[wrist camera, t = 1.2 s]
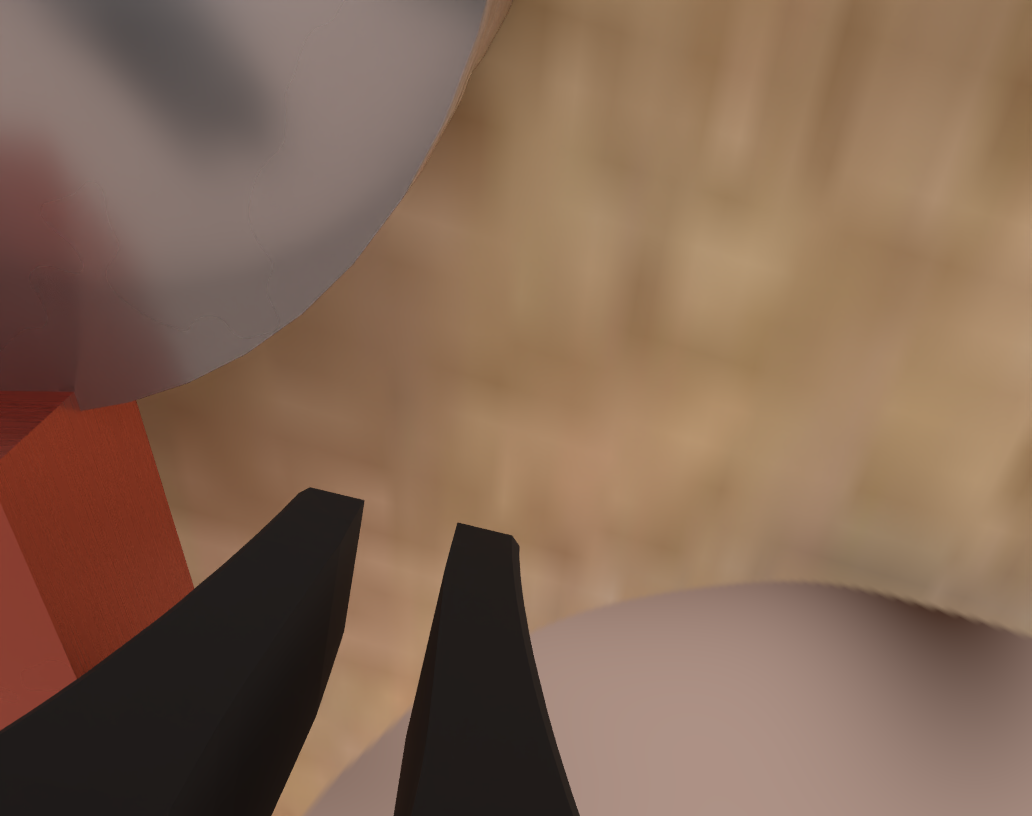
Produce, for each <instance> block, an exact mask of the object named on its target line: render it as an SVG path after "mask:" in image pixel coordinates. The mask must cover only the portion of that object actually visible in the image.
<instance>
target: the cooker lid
mask: <svg viewBox="0 0 1032 816" xmlns="http://www.w3.org/2000/svg"><path fill="white" fill-rule="evenodd" d="M496 3H497V0H0V730H2V729H3V728H5V727H6V726H8V725H10V724H11V723H13V722H14V721H16V720H17V719H19V718H20V717H22V716H24V715H25V714H27V713H28V712H30V711H31V710H33V709H34V708H36V707H37V706H39V705H40V704H42V703H43V702H45V701H46V700H47V699H49V698H50V697H52V696H53V695H55V694H56V693H58V692H59V691H61V690H62V689H63V688H65V687H66V686H68V685H69V684H71V683H72V682H74V681H75V680H76V679H78V678H79V677H81V676H82V675H83V674H85V673H86V672H88V671H89V670H90V669H92V668H93V667H95V666H96V665H97V664H99V663H100V662H101V661H102V660H104V659H105V658H106V657H108V656H109V655H110V654H112V653H113V652H114V651H116V650H117V649H118V648H120V647H121V646H122V645H124V644H125V643H126V642H128V641H129V640H130V639H132V638H133V637H134V636H136V635H137V634H138V633H140V632H141V631H142V630H144V629H145V628H146V627H148V626H149V625H150V624H152V623H153V622H154V621H156V620H157V619H158V618H159V617H161V616H162V615H163V614H164V613H166V612H167V611H168V610H169V609H171V608H172V607H173V606H174V605H176V604H177V603H178V602H179V601H180V600H182V599H183V598H184V597H185V596H186V595H188V594H189V593H190V592H191V591H192V590H193V589H194V586H193V583H192V579H191V576H190V573H189V570H188V567H187V563H186V560H185V557H184V554H183V550H182V547H181V544H180V541H179V538H178V534H177V531H176V528H175V525H174V522H173V518H172V515H171V512H170V509H169V505H168V502H167V499H166V496H165V493H164V489H163V486H162V483H161V480H160V476H159V473H158V470H157V467H156V464H155V460H154V457H153V454H152V451H151V447H150V444H149V441H148V438H147V435H146V431H145V428H144V425H143V422H142V418H141V415H140V412H139V409H138V406H137V402H136V400H137V399H141V398H144V397H147V396H150V395H153V394H156V393H159V392H162V391H165V390H168V389H171V388H174V387H177V386H180V385H183V384H186V383H189V382H191V381H193V380H195V379H197V378H199V377H201V376H203V375H205V374H207V373H209V372H211V371H213V370H215V369H217V368H219V367H221V366H223V365H225V364H227V363H229V362H231V361H233V360H235V359H237V358H239V357H241V356H243V355H245V354H247V353H248V352H250V351H251V350H252V349H254V348H255V347H257V346H258V345H259V344H261V343H262V342H264V341H265V340H266V339H268V338H269V337H271V336H272V335H273V334H275V333H276V332H278V331H279V330H280V329H282V328H283V327H285V326H286V325H287V324H289V323H290V322H292V321H293V320H294V319H296V318H297V317H299V316H300V315H301V314H303V313H304V312H305V311H306V310H307V309H308V308H309V307H310V306H311V305H312V304H313V303H314V302H315V301H316V300H317V299H318V298H319V297H320V296H321V295H322V294H323V293H324V292H325V291H326V290H327V289H328V288H329V287H330V286H331V285H332V284H333V283H334V282H335V281H336V280H337V279H338V278H339V277H340V276H341V275H342V274H343V273H344V272H345V271H346V270H347V269H349V268H350V267H351V266H352V265H353V264H354V262H355V261H356V260H357V258H358V257H359V256H360V254H361V253H362V252H363V250H364V249H365V248H366V246H367V245H368V244H369V242H370V241H371V240H372V238H373V237H374V236H375V234H376V233H377V232H378V230H379V229H380V228H381V226H382V225H383V224H384V222H385V221H386V220H387V218H388V217H389V216H390V214H391V213H392V212H393V210H394V209H395V208H396V206H397V205H398V204H399V202H400V201H401V200H402V198H403V197H404V195H405V194H406V193H407V191H408V190H409V188H410V187H411V186H412V184H413V183H414V181H415V180H416V179H417V177H418V176H419V174H420V173H421V172H422V170H423V168H424V167H425V165H426V163H427V161H428V159H429V157H430V156H431V154H432V152H433V150H434V148H435V147H436V145H437V143H438V141H439V139H440V137H441V136H442V134H443V132H444V130H445V128H446V127H447V125H448V123H449V121H450V119H451V117H452V116H453V114H454V112H455V110H456V108H457V107H458V105H459V103H460V101H461V99H462V96H463V94H464V91H465V88H466V86H467V83H468V81H469V78H470V76H471V73H472V70H473V68H474V65H475V63H476V60H477V57H478V55H479V52H480V50H481V47H482V45H483V42H484V39H485V37H486V34H487V32H488V29H489V27H490V24H491V21H492V19H493V15H494V11H495V7H496Z"/></svg>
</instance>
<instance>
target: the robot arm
mask: <svg viewBox="0 0 1032 816" xmlns="http://www.w3.org/2000/svg"><path fill="white" fill-rule="evenodd" d="M364 501H365V500H361V499H357V498H353V497H348V496H344V495H340V494H336V493H332V492H328V491H323V490H319V489H315V488H311V487H310V488H308V489H306V490H304V491H302V492H300V493H299V494H298V495H297V496H296V497H295V498H294V499H293V500H292V501H291V502H290V503H289V504H288V505H287V506H286V507H285V508H284V509H283V510H282V511H281V512H280V513H279V514H278V515H277V516H276V517H275V518H273V519H272V520H271V521H270V522H269V523H268V524H267V525H266V526H265V527H264V528H263V529H262V530H261V531H260V532H259V533H258V534H257V535H255V536H254V537H253V538H252V539H251V540H250V541H249V542H248V543H247V544H246V545H245V546H243V547H242V548H241V549H240V550H239V551H238V552H237V553H236V554H234V555H233V556H232V557H231V558H230V559H229V560H228V561H227V562H226V563H224V564H223V565H222V566H221V567H220V568H219V569H217V570H216V571H215V572H214V573H213V574H211V575H210V576H209V577H208V578H207V579H205V580H204V581H203V582H202V583H201V584H199V585H198V586H197V587H196V588H195V589H193V590H192V591H191V592H190V593H189V594H188V595H186V596H185V597H184V598H183V599H182V600H180V601H179V602H178V603H177V604H176V605H174V606H173V607H172V608H171V609H169V610H168V611H167V612H166V613H164V614H163V615H162V616H161V617H159V618H158V619H157V620H156V621H154V622H153V623H152V624H150V625H149V626H148V627H146V628H145V629H144V630H142V631H141V632H140V633H138V634H137V635H136V636H134V637H133V638H132V639H130V640H129V641H128V642H126V643H125V644H124V645H122V646H121V647H120V648H118V649H117V650H116V651H114V652H113V653H112V654H110V655H109V656H108V657H106V658H105V659H104V660H102V661H101V662H100V663H99V664H97V665H96V666H95V667H93V668H92V669H90V670H89V671H88V672H86V673H85V674H83V675H82V676H81V677H79V678H78V679H76V680H75V681H74V682H72V683H71V684H69V685H68V686H66V687H65V688H63V689H62V690H61V691H59V692H58V693H56V694H55V695H53V696H52V697H50V698H49V699H47V700H46V701H45V702H43V703H42V704H40V705H39V706H37V707H36V708H34V709H33V710H31V711H30V712H28V713H27V714H25V715H24V716H22V717H20V718H19V719H17V720H16V721H14V722H13V723H11V724H10V725H8V726H6V727H5V728H3V729H2V730H0V816H271V815H272V813H273V811H274V809H275V806H276V804H277V802H278V800H279V798H280V795H281V793H282V791H283V789H284V787H285V784H286V782H287V780H288V778H289V775H290V773H291V771H292V769H293V767H294V764H295V762H296V760H297V758H298V755H299V753H300V751H301V749H302V746H303V744H304V742H305V740H306V738H307V735H308V733H309V731H310V729H311V726H312V724H313V722H314V720H315V717H316V715H317V712H318V709H319V706H320V703H321V700H322V697H323V694H324V691H325V688H326V685H327V682H328V679H329V676H330V673H331V670H332V667H333V664H334V661H335V658H336V655H337V651H338V648H339V645H340V642H341V639H342V636H343V633H344V628H345V622H346V615H347V609H348V603H349V596H350V590H351V584H352V577H353V571H354V564H355V558H356V552H357V545H358V539H359V533H360V526H361V520H362V513H363V507H364ZM394 816H580V815H579V812H578V809H577V806H576V803H575V800H574V797H573V795H572V792H571V788H570V785H569V782H568V779H567V776H566V773H565V770H564V766H563V764H562V760H561V757H560V754H559V750H558V747H557V744H556V740H555V737H554V734H553V730H552V726H551V723H550V719H549V716H548V712H547V708H546V704H545V700H544V696H543V692H542V688H541V684H540V680H539V676H538V672H537V667H536V663H535V659H534V655H533V650H532V645H531V641H530V635H529V630H528V624H527V618H526V613H525V607H524V600H523V593H522V585H521V576H520V561H519V545H518V543H517V542H516V540H515V539H514V538H513V536H512V535H508V534H503V533H499V532H495V531H491V530H487V529H482V528H478V527H474V526H470V525H466V524H461V523H457V526H456V530H455V534H454V537H453V541H452V545H451V548H450V552H449V556H448V559H447V563H446V567H445V571H444V575H443V580H442V584H441V588H440V593H439V597H438V601H437V606H436V610H435V614H434V618H433V623H432V627H431V631H430V636H429V640H428V644H427V649H426V653H425V657H424V662H423V666H422V670H421V675H420V679H419V683H418V687H417V692H416V696H415V700H414V705H413V709H412V713H411V718H410V722H409V726H408V731H407V735H406V741H405V747H404V753H403V759H402V766H401V773H400V779H399V785H398V791H397V798H396V804H395V810H394Z"/></svg>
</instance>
